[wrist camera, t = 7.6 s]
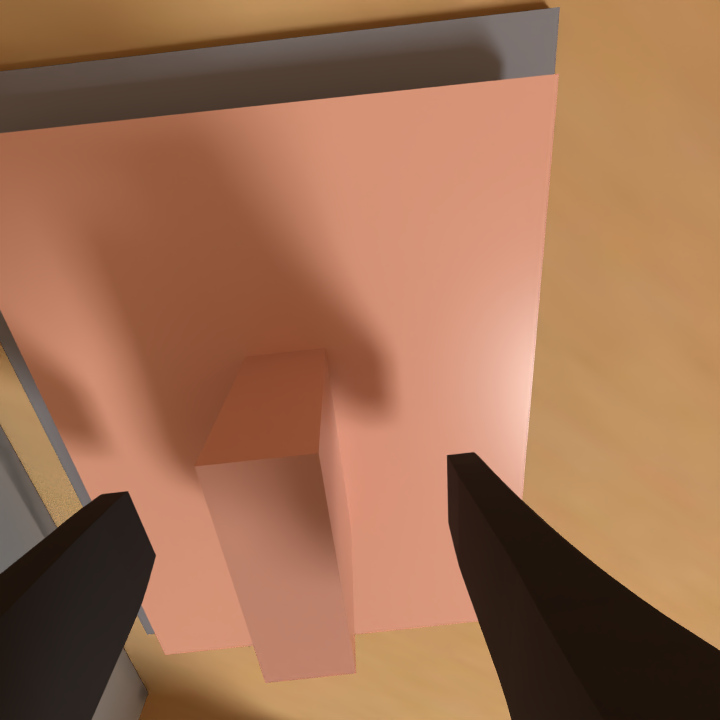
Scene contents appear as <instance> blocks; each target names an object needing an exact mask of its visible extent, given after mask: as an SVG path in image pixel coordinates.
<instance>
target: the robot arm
mask: <svg viewBox="0 0 720 720" xmlns="http://www.w3.org/2000/svg"><path fill="white" fill-rule="evenodd" d="M447 489H448V524H449V528H450V532H451V537H452V541H453V545H454V549H455V553H456V557H457V561H458V565H459V568H460V571H461V574H462V577H463V580H464V582H465V585H466V588H467V591H468V594H469V596H470V599H471V602H472V605H473V608H474V610H475V613H476V616H477V619H478V621H479V624H480V627H481V630H482V632H483V635H484V638H485V641H486V643H487V646H488V649H489V652H490V654H491V657H492V660H493V663H494V666H495V668H496V671H497V674H498V677H499V680H500V683H501V686H502V689H503V692H504V695H505V698H506V702H507V705H508V709H509V712H510V716H511V720H720V650H718V649H717V648H715V647H714V646H712V645H710V644H709V643H707V642H706V641H704V640H703V639H701V638H700V637H698V636H696V635H695V634H693V633H692V632H690V631H689V630H687V629H686V628H684V627H682V626H681V625H679V624H678V623H676V622H675V621H673V620H672V619H670V618H668V617H667V616H665V615H664V614H663V613H661V612H660V611H658V610H657V609H655V608H654V607H652V606H651V605H650V604H648V603H647V602H645V601H644V600H642V599H641V598H640V597H638V596H637V595H635V594H634V593H633V592H631V591H630V590H629V589H627V588H626V587H625V586H623V585H622V584H621V583H619V582H618V581H617V580H615V579H614V578H612V577H611V576H610V575H609V574H607V573H606V572H605V571H603V570H602V569H601V568H600V567H598V566H597V565H596V564H595V563H593V562H592V561H591V560H590V559H588V558H587V557H586V556H585V555H583V554H582V553H581V552H580V551H579V550H577V549H576V548H575V547H574V546H573V545H571V544H570V543H569V542H568V541H567V540H565V539H564V538H563V537H562V536H561V535H560V534H559V533H557V532H556V531H555V530H554V529H553V528H552V527H551V526H549V525H548V524H547V523H546V522H545V521H544V520H543V519H542V518H541V517H540V516H539V515H537V514H536V513H535V512H534V511H533V510H532V509H531V508H530V507H529V506H528V505H527V504H526V503H524V502H523V501H522V500H521V499H520V498H519V497H518V496H517V495H516V494H515V493H514V492H513V491H512V490H511V489H510V488H509V487H508V486H507V485H506V484H505V483H504V482H503V481H502V480H501V479H500V478H499V477H498V476H497V475H496V474H495V473H494V472H493V471H492V469H491V468H490V467H489V466H488V465H487V464H486V463H485V462H484V461H483V460H482V459H481V458H480V457H479V456H478V455H477V454H476V453H474V452H470V453H461V454H452V455H447ZM155 558H156V554H155V552H154V550H153V547H152V545H151V543H150V540H149V538H148V536H147V533H146V531H145V529H144V527H143V524H142V522H141V520H140V517H139V515H138V513H137V510H136V508H135V506H134V504H133V501H132V499H131V497H130V494H129V492H128V491H124V492H116V493H107V494H101V495H99V496H98V497H97V498H95V499H94V500H92V501H91V502H90V503H88V504H87V505H86V506H84V507H83V508H82V509H80V510H79V511H78V512H77V513H75V514H74V515H73V516H72V517H70V518H69V519H68V520H66V521H65V522H64V523H63V524H61V525H60V526H59V527H58V528H57V529H55V530H54V531H53V532H52V533H50V534H49V535H48V536H47V537H45V538H44V539H43V540H42V541H40V542H39V543H38V544H37V545H35V546H34V547H33V548H32V549H31V550H29V551H28V552H27V553H26V554H24V555H23V556H22V557H21V558H19V559H18V560H17V561H16V562H14V563H13V564H12V565H11V566H9V567H8V568H7V569H6V570H4V571H3V572H2V573H1V574H0V720H92V718H93V716H94V713H95V711H96V709H97V706H98V704H99V702H100V700H101V697H102V695H103V693H104V690H105V688H106V686H107V684H108V681H109V679H110V677H111V674H112V672H113V670H114V668H115V665H116V663H117V661H118V658H119V656H120V654H121V652H122V649H123V647H124V645H125V642H126V640H127V638H128V635H129V633H130V631H131V628H132V626H133V624H134V621H135V619H136V617H137V614H138V612H139V609H140V607H141V605H142V602H143V599H144V596H145V592H146V589H147V586H148V583H149V580H150V576H151V572H152V569H153V565H154V561H155Z"/></svg>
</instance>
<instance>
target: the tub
mask: <svg viewBox="0 0 720 720" xmlns="http://www.w3.org/2000/svg"><path fill="white" fill-rule="evenodd" d="M55 529H57V527H56V525H55V524H54V522H53V520H52V518H51V516H50V514H49V513H48V511H47V509H46V507H45V505H44V504H43V502H42V500H41V498H40V496H39V495H38V493H37V491H36V489H35V487H34V486H33V484H32V482H31V480H30V478H29V476H28V475H27V473H26V471H25V469H24V467H23V466H22V464H21V462H20V460H19V458H18V457H17V455H16V453H15V451H14V449H13V448H12V446H11V444H10V442H9V440H8V439H7V437H6V435H5V433H4V431H3V429H2V428H1V426H0V574H1V573H2V572H3V571H4V570H6V569H7V568H8V567H9V566H11V565H12V564H13V563H14V562H16V561H17V560H18V559H19V558H21V557H22V556H23V555H24V554H26V553H27V552H28V551H29V550H31V549H32V548H33V547H34V546H35V545H37V544H38V543H39V542H40V541H42V540H43V539H44V538H45V537H47V536H48V535H49V534H50V533H52V532H53V531H54V530H55ZM147 695H148V692H147V690H146V688H145V686H144V684H143V683H142V681H141V679H140V677H139V675H138V674H137V672H136V670H135V668H134V666H133V665H132V663H131V661H130V659H129V657H128V656H127V654H126V652H125V650H124V648H123V649H122V652H121V654H120V656H119V658H118V661H117V663H116V665H115V668H114V670H113V672H112V674H111V677H110V679H109V681H108V684H107V686H106V688H105V690H104V693H103V695H102V697H101V700H100V702H99V704H98V706H97V709H96V711H95V713H94V716H93V718H92V720H139V718H140V715H141V712H142V709H143V706H144V704H145V701H146V698H147Z"/></svg>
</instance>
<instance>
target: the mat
mask: <svg viewBox="0 0 720 720" xmlns="http://www.w3.org/2000/svg"><path fill="white" fill-rule="evenodd" d="M559 9H560V7H557V8H549V9H540V10H531V11H523V12H514V13H505V14H496V15H488V16H479V17H470V18H462V19H453V20H444V21H435V22H427V23H418V24H409V25H401V26H392V27H383V28H374V29H366V30H357V31H348V32H340V33H331V34H322V35H314V36H305V37H296V38H287V39H279V40H270V41H261V42H253V43H244V44H235V45H226V46H218V47H209V48H200V49H192V50H183V51H174V52H165V53H157V54H148V55H139V56H131V57H122V58H113V59H105V60H96V61H87V62H78V63H70V64H61V65H52V66H44V67H35V68H26V69H17V70H9V71H0V133H7V132H17V131H26V130H35V129H45V128H54V127H64V126H73V125H82V124H92V123H101V122H111V121H120V120H129V119H139V118H148V117H157V116H167V115H176V114H186V113H195V112H204V111H214V110H223V109H233V108H242V107H251V106H261V105H270V104H280V103H289V102H298V101H308V100H317V99H327V98H336V97H345V96H355V95H364V94H374V93H383V92H392V91H402V90H411V89H421V88H430V87H439V86H449V85H458V84H467V83H477V82H486V81H496V80H505V79H514V78H524V77H533V76H543V75H552V74H555V61H556V48H557V35H558V22H559ZM0 343H1V345H2V347H3V349H4V351H5V353H6V355H7V357H8V359H9V361H10V363H11V365H12V367H13V369H14V371H15V373H16V375H17V377H18V379H19V381H20V382H21V384H22V386H23V388H24V390H25V392H26V394H27V396H28V398H29V400H30V402H31V404H32V406H33V408H34V410H35V412H36V414H37V416H38V418H39V420H40V422H41V424H42V426H43V428H44V430H45V432H46V434H47V436H48V438H49V440H50V442H51V444H52V446H53V448H54V450H55V452H56V454H57V456H58V458H59V460H60V462H61V464H62V466H63V468H64V470H65V472H66V474H67V476H68V478H69V480H70V482H71V484H72V486H73V488H74V490H75V492H76V494H77V496H78V498H79V500H80V502H81V504H82V506H83V507H84V506H86V505H87V504H88V503H90V502H91V498H90V496H89V494H88V492H87V490H86V488H85V486H84V484H83V482H82V480H81V478H80V475H79V473H78V471H77V469H76V467H75V465H74V463H73V461H72V459H71V457H70V455H69V452H68V450H67V448H66V446H65V444H64V442H63V440H62V438H61V436H60V434H59V432H58V429H57V427H56V425H55V423H54V421H53V419H52V417H51V415H50V413H49V411H48V409H47V406H46V404H45V402H44V400H43V398H42V396H41V394H40V392H39V390H38V388H37V386H36V383H35V381H34V379H33V377H32V375H31V373H30V371H29V369H28V367H27V365H26V363H25V360H24V358H23V356H22V354H21V352H20V350H19V348H18V346H17V344H16V342H15V340H14V337H13V335H12V333H11V331H10V329H9V327H8V325H7V323H6V321H5V319H4V317H3V315H2V312H1V310H0ZM137 615H138V617H139V619H140V621H141V623H142V625H143V627H144V629H145V631H146V633H147V634H155V632H154V630H153V628H152V626H151V624H150V622H149V620H148V618H147V616H146V613H145V611H144V609H143V607H142V605H141V607H140V609H139V612H138V614H137Z"/></svg>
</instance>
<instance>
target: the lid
mask: <svg viewBox="0 0 720 720" xmlns="http://www.w3.org/2000/svg"><path fill="white" fill-rule="evenodd" d="M558 78H559V74H552V75H543V76H533V77H524V78H514V79H505V80H496V81H486V82H477V83H467V84H458V85H449V86H439V87H430V88H421V89H411V90H402V91H392V92H383V93H374V94H364V95H355V96H345V97H336V98H327V99H317V100H308V101H298V102H289V103H280V104H270V105H261V106H251V107H242V108H233V109H223V110H214V111H204V112H195V113H186V114H176V115H167V116H157V117H148V118H139V119H129V120H120V121H111V122H101V123H92V124H82V125H73V126H64V127H54V128H45V129H35V130H26V131H17V132H7V133H0V310H1V312H2V315H3V317H4V319H5V321H6V323H7V325H8V327H9V329H10V331H11V333H12V335H13V337H14V340H15V342H16V344H17V346H18V348H19V350H20V352H21V354H22V356H23V358H24V360H25V363H26V365H27V367H28V369H29V371H30V373H31V375H32V377H33V379H34V381H35V383H36V386H37V388H38V390H39V392H40V394H41V396H42V398H43V400H44V402H45V404H46V406H47V409H48V411H49V413H50V415H51V417H52V419H53V421H54V423H55V425H56V427H57V429H58V432H59V434H60V436H61V438H62V440H63V442H64V444H65V446H66V448H67V450H68V452H69V455H70V457H71V459H72V461H73V463H74V465H75V467H76V469H77V471H78V473H79V475H80V478H81V480H82V482H83V484H84V486H85V488H86V490H87V492H88V494H89V496H90V498H91V501H92V500H94V499H95V498H97V497H98V496H99V495H101V494H107V493H116V492H124V491H128V492H129V494H130V497H131V499H132V501H133V504H134V506H135V508H136V510H137V513H138V515H139V517H140V520H141V522H142V524H143V527H144V529H145V531H146V533H147V536H148V538H149V540H150V543H151V545H152V547H153V550H154V552H155V554H156V558H155V561H154V565H153V569H152V572H151V576H150V580H149V583H148V586H147V589H146V592H145V596H144V599H143V602H142V607H143V609H144V611H145V613H146V616H147V618H148V620H149V622H150V624H151V626H152V628H153V630H154V632H155V634H156V636H157V639H158V641H159V643H160V645H161V647H162V649H163V651H164V653H165V655H169V654H178V653H188V652H197V651H206V650H215V649H225V648H234V647H243V646H254V649H255V652H256V655H257V658H258V661H259V664H260V667H261V671H262V674H263V677H264V680H265V683H270V682H279V681H288V680H298V679H307V678H316V677H325V676H335V675H344V674H353V673H356V659H355V634H364V633H373V632H382V631H392V630H401V629H410V628H419V627H429V626H438V625H447V624H456V623H466V622H475V621H478V619H477V616H476V613H475V610H474V608H473V605H472V602H471V599H470V596H469V594H468V591H467V588H466V585H465V582H464V580H463V577H462V574H461V571H460V568H459V565H458V561H457V557H456V553H455V549H454V545H453V541H452V537H451V532H450V528H449V524H448V489H447V455H452V454H461V453H470V452H474V453H476V454H477V455H478V456H479V457H480V458H481V459H482V460H483V461H484V462H485V463H486V464H487V465H488V466H489V467H490V468H491V469H492V471H493V472H494V473H495V474H496V475H497V476H498V477H499V478H500V479H501V480H502V481H503V482H504V483H505V484H506V485H507V486H508V487H509V488H510V489H511V490H512V491H513V492H514V493H515V494H516V495H517V496H518V497H519V498H520V499H521V500H522V495H523V484H524V472H525V461H526V449H527V437H528V426H529V414H530V403H531V391H532V379H533V368H534V356H535V345H536V333H537V321H538V310H539V298H540V287H541V275H542V263H543V252H544V240H545V229H546V217H547V205H548V194H549V182H550V171H551V159H552V147H553V136H554V124H555V113H556V101H557V89H558Z"/></svg>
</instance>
